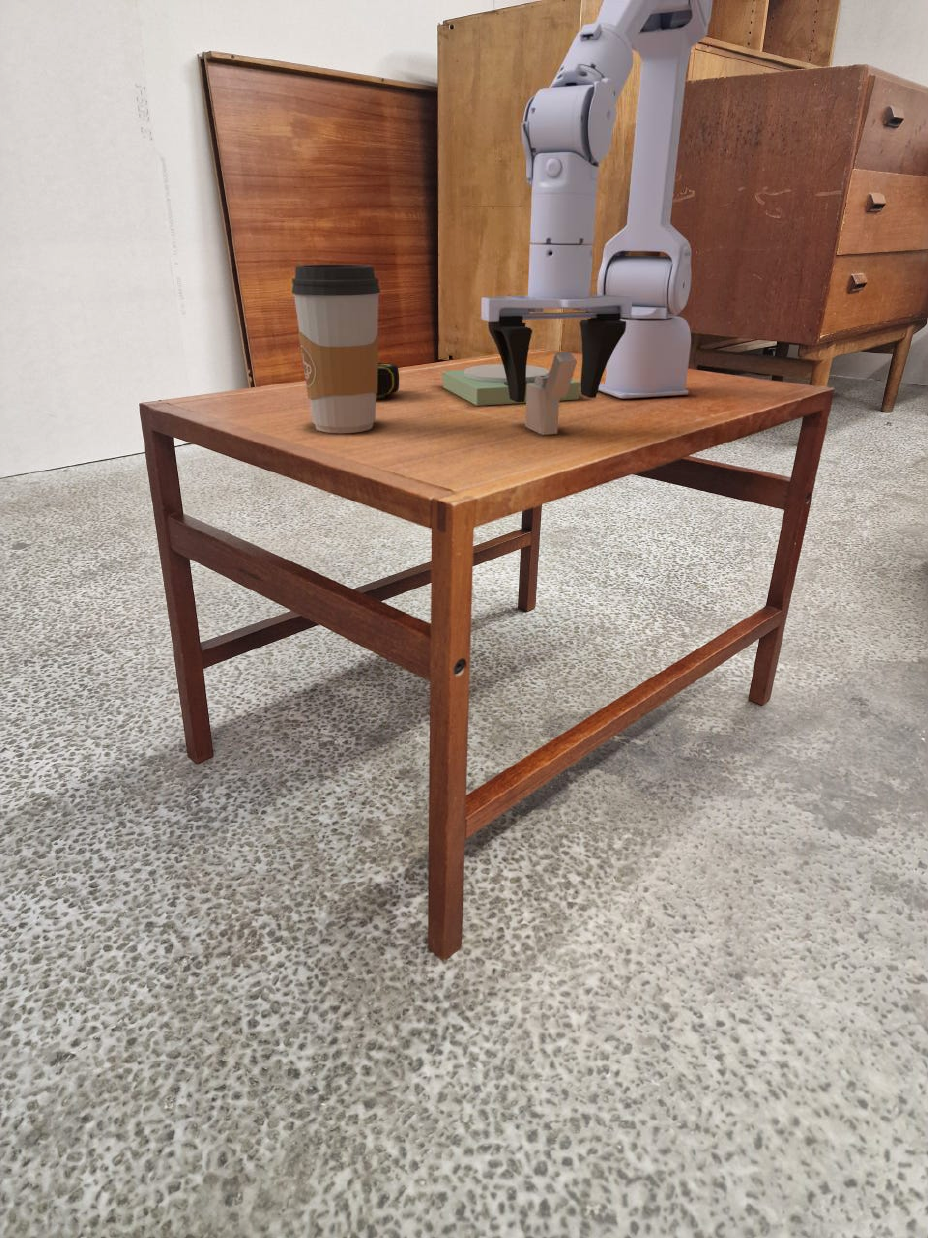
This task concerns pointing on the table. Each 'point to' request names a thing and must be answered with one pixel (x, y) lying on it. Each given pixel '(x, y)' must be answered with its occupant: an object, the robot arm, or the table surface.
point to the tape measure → (387, 379)
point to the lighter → (549, 394)
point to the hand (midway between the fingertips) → (553, 398)
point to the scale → (493, 384)
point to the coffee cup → (339, 343)
